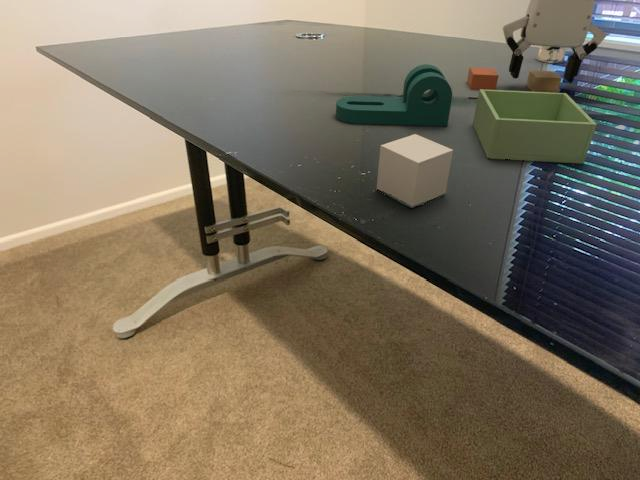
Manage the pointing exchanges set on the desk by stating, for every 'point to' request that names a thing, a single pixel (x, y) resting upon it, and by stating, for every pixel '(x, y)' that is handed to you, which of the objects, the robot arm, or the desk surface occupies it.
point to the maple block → (543, 81)
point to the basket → (532, 126)
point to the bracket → (403, 102)
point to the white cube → (414, 169)
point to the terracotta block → (482, 79)
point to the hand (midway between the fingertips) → (540, 78)
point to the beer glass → (551, 54)
